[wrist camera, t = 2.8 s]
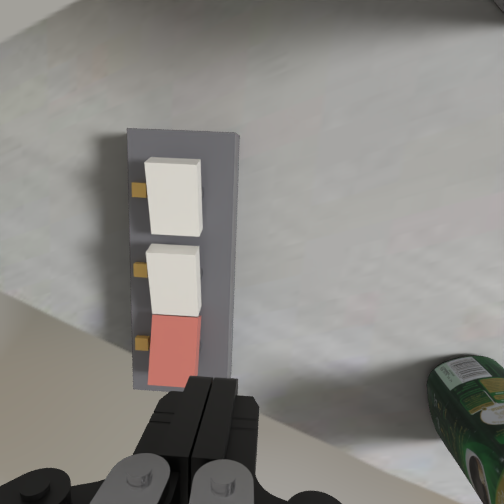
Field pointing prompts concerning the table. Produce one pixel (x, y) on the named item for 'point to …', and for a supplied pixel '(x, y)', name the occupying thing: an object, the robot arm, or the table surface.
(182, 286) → the block
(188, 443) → the robot arm
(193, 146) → the switch panel
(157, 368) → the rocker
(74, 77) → the table surface
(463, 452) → the coffee jar
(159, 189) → the rocker
